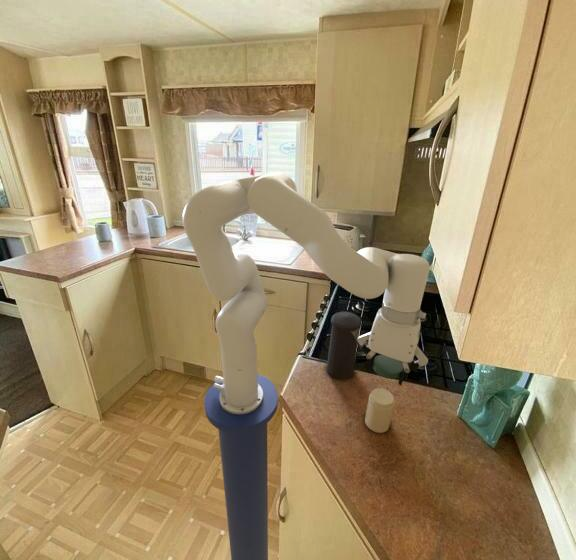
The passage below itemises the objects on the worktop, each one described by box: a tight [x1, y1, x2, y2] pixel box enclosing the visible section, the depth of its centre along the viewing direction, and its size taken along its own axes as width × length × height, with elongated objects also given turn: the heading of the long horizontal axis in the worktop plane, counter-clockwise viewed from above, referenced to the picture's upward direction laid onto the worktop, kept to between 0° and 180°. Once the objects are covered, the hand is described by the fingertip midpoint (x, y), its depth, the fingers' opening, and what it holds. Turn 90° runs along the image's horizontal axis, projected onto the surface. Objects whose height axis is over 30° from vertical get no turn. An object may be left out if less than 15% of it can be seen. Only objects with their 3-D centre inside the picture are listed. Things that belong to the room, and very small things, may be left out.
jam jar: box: [364, 387, 395, 434], centre depth 80 cm, size 6×6×9 cm
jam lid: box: [372, 354, 403, 380], centre depth 74 cm, size 7×7×2 cm
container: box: [326, 311, 363, 380], centre depth 95 cm, size 9×9×20 cm
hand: (385, 374), depth 75 cm, fingers closed on jam lid, 6 cm apart
